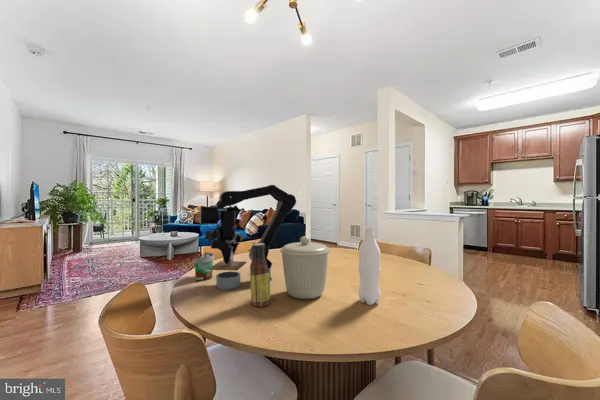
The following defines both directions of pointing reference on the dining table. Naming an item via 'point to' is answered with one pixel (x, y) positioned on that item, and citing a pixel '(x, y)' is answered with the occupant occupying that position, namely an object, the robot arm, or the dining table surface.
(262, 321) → the dining table surface
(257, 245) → the sauce bottle
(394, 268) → the dining table surface
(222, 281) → the bowl
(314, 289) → the canister
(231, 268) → the lid
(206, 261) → the food container
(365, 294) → the water bottle
